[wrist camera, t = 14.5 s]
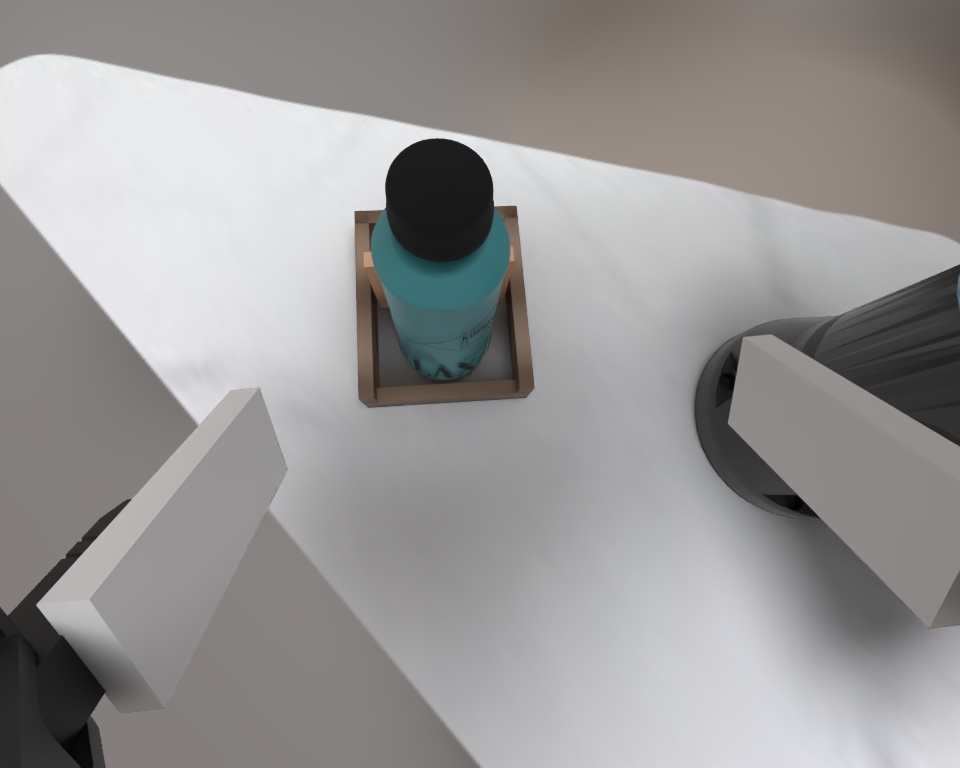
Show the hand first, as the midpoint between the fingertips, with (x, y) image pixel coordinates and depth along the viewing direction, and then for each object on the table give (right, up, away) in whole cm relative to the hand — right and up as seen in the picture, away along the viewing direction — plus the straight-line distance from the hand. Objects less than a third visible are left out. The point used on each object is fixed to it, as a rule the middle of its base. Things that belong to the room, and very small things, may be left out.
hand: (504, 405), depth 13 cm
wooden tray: (-4, +6, +24) cm, 25 cm away
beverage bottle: (-3, +4, +23) cm, 23 cm away
